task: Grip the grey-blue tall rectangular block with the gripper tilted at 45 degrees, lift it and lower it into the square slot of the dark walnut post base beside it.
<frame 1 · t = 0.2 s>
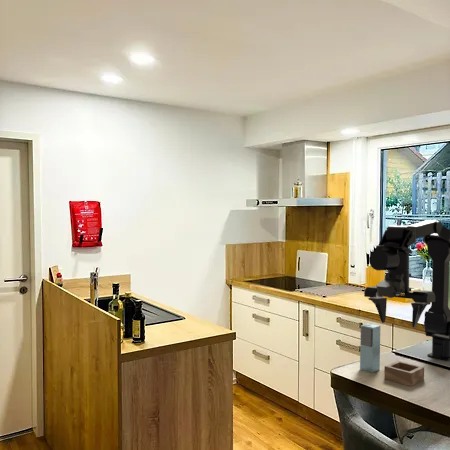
hand: (398, 324, 132), 14 cm above the table, tool pointing down, fingers open, 9 cm apart
post base: (404, 379, 128), on the table
grey-blue tall rectangular block: (369, 369, 136), on the table
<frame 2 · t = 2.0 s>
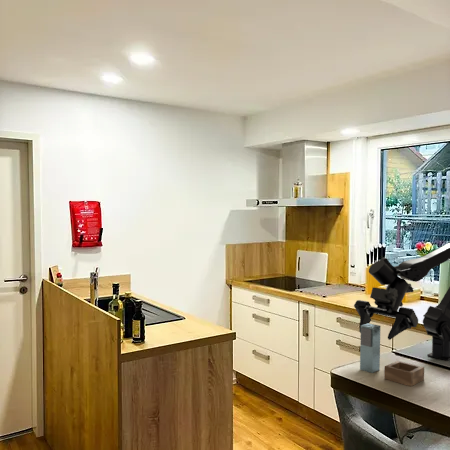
hand: (374, 335, 137), 10 cm above the table, tool tilted 45°, fingers open, 9 cm apart
nothing on the table moved.
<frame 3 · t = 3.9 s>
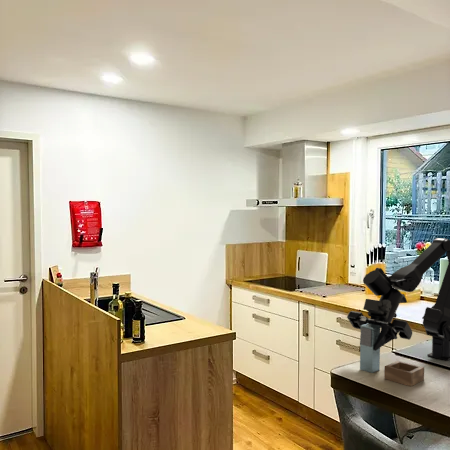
hand: (367, 348, 135), 7 cm above the table, tool tilted 45°, fingers closed on grey-blue tall rectangular block, 4 cm apart
grey-blue tall rectangular block: (369, 369, 136), on the table, touching gripper
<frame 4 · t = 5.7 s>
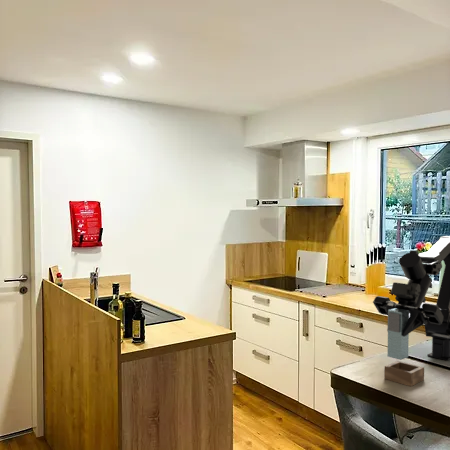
hand: (395, 333, 128), 12 cm above the table, tool tilted 45°, fingers closed on grey-blue tall rectangular block, 4 cm apart
grey-blue tall rectangular block: (397, 356, 129), point 6 cm above the table, touching gripper
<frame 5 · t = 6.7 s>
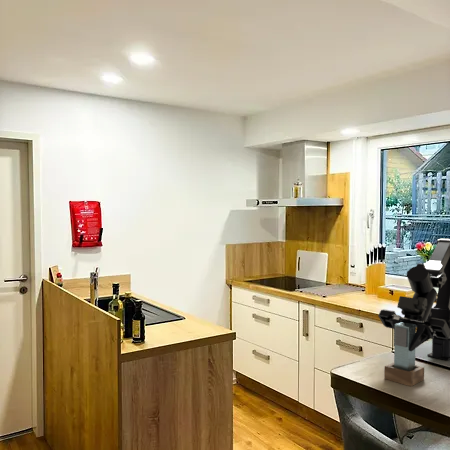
hand: (402, 348, 127), 9 cm above the table, tool tilted 45°, fingers closed on grey-blue tall rectangular block, 4 cm apart
grey-blue tall rectangular block: (404, 371, 128), point 2 cm above the table, touching gripper
when the fingers open (8 cm above the table, at t = 7.6 s): grey-blue tall rectangular block drops 1 cm, resting in post base.
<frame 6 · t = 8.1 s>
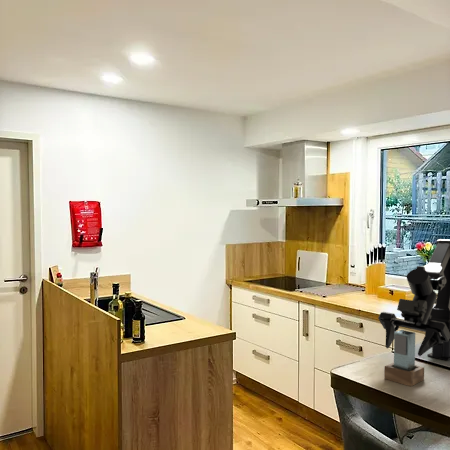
hand: (402, 351, 127), 8 cm above the table, tool tilted 45°, fingers open, 9 cm apart
grey-blue tall rectangular block: (404, 379, 128), resting in post base
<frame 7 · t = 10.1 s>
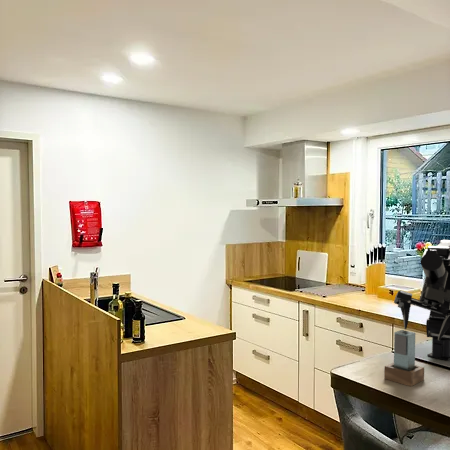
hand: (422, 334, 133), 11 cm above the table, tool tilted 30°, fingers open, 9 cm apart
nothing on the table moved.
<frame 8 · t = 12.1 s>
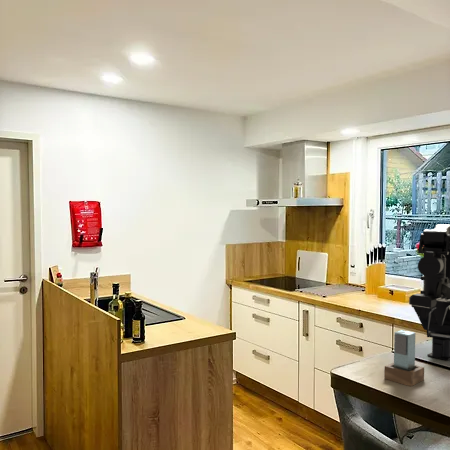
hand: (433, 327, 134), 13 cm above the table, tool pointing down, fingers open, 9 cm apart
nothing on the table moved.
at the end: grey-blue tall rectangular block 0.0 cm off-centre on the post base, point 0.0 cm above the post base's base; grey-blue tall rectangular block tilted 0°; the gripper is holding nothing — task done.
